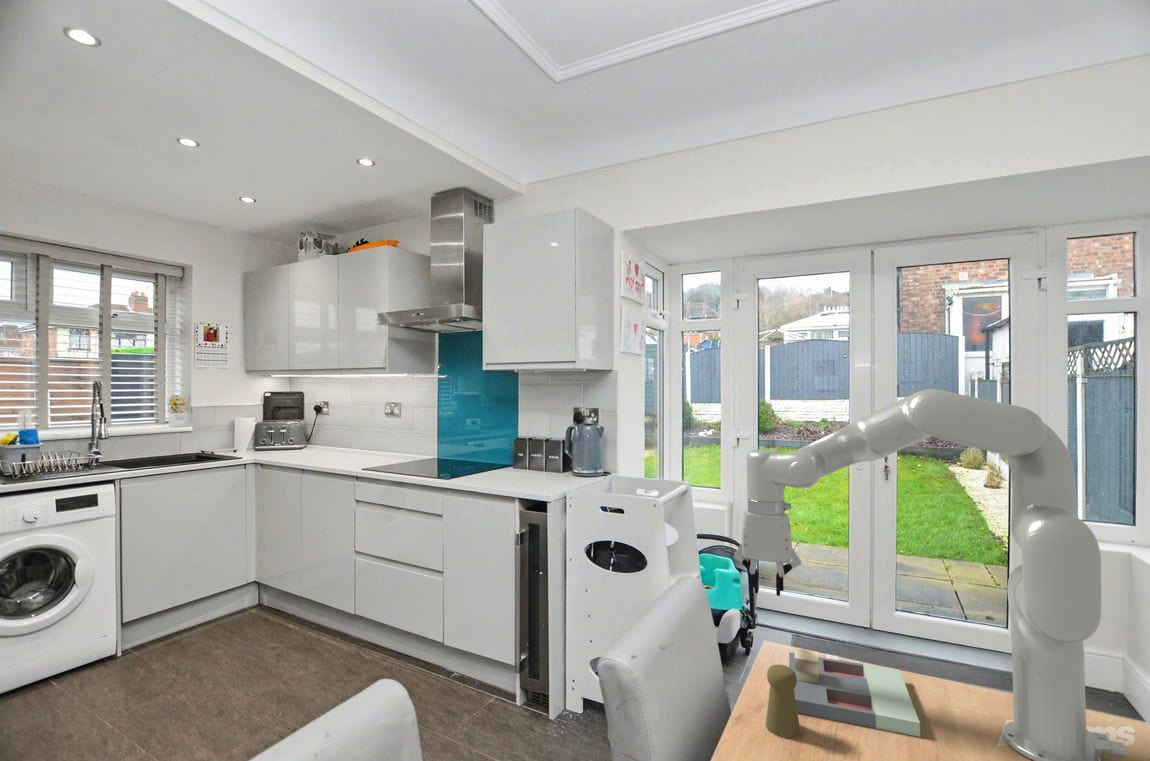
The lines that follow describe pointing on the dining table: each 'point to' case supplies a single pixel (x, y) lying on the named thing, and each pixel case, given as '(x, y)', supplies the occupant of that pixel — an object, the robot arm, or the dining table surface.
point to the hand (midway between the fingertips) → (767, 591)
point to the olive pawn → (782, 702)
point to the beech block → (807, 666)
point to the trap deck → (858, 696)
